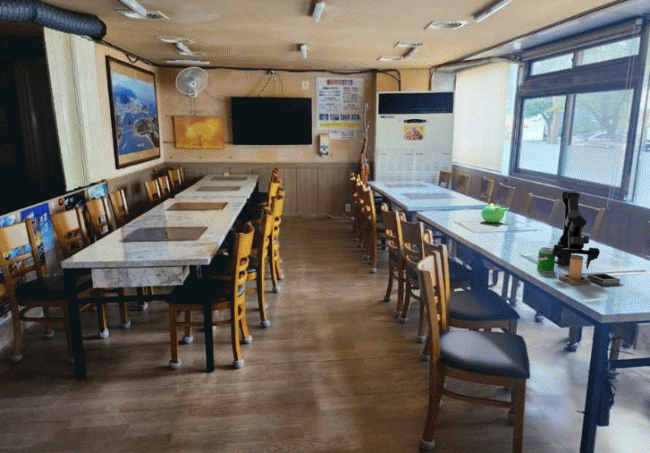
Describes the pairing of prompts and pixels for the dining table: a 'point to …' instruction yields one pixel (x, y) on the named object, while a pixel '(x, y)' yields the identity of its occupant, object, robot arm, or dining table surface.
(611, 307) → the dining table surface
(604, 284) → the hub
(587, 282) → the stand
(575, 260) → the wooden dowel rod
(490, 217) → the toy bird
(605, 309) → the dining table surface
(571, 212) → the robot arm
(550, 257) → the soda can
